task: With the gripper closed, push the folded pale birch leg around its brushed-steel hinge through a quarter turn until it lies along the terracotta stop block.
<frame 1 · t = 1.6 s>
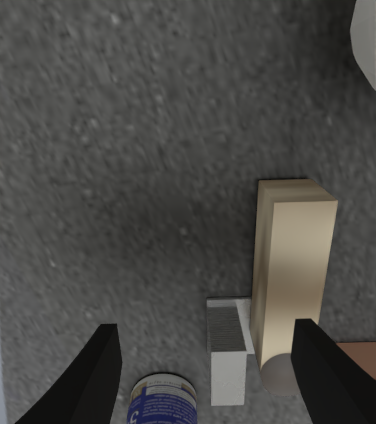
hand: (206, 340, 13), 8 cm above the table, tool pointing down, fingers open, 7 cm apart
hinge bracket: (241, 325, 23), on the table
cup: (366, 30, 16), on the table
birch leg: (285, 291, 19), point 3 cm above the table, hinge at 0.0°
pill bottle: (164, 392, 26), on the table
stop block: (352, 357, 24), on the table
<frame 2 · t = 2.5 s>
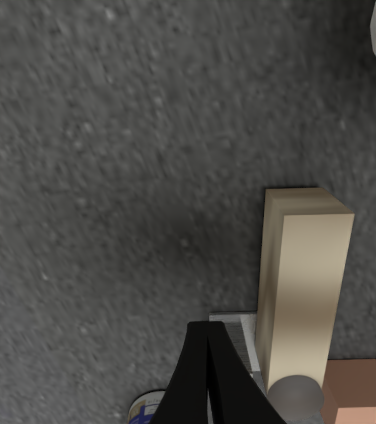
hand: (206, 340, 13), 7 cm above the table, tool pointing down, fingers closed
hinge bracket: (246, 341, 22), on the table
birch leg: (294, 308, 18), point 2 cm above the table, hinge at 0.0°
pill bottle: (163, 410, 25), on the table
stop block: (363, 374, 23), on the table
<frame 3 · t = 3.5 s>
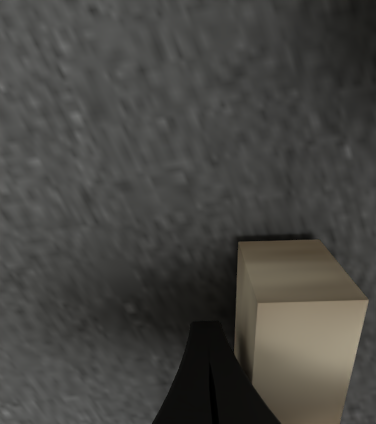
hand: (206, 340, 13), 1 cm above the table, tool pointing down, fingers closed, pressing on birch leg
birch leg: (279, 407, 13), point 3 cm above the table, hinge at 0.0°, touching gripper
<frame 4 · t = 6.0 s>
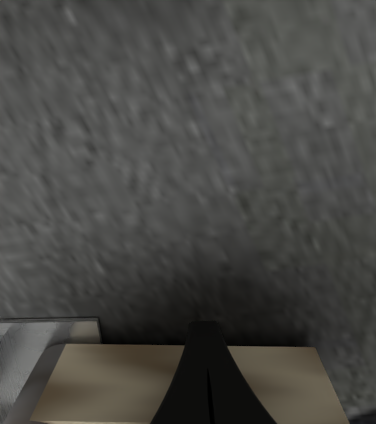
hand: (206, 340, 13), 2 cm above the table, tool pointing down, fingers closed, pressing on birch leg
hinge bracket: (33, 360, 15), on the table
birch leg: (170, 411, 13), point 3 cm above the table, hinge at 92.3°, touching gripper, stop block
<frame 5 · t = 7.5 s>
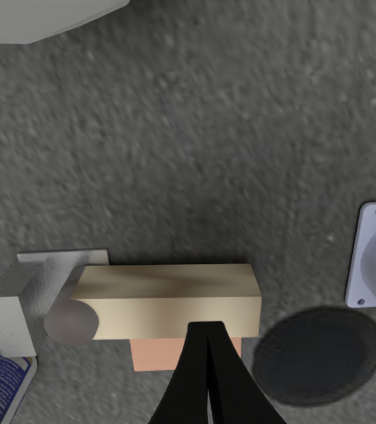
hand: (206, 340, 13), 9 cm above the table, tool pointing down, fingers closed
hinge bracket: (62, 281, 23), on the table
birch leg: (156, 302, 20), point 2 cm above the table, hinge at 92.3°
pill bottle: (6, 356, 26), on the table
stop block: (186, 314, 24), on the table
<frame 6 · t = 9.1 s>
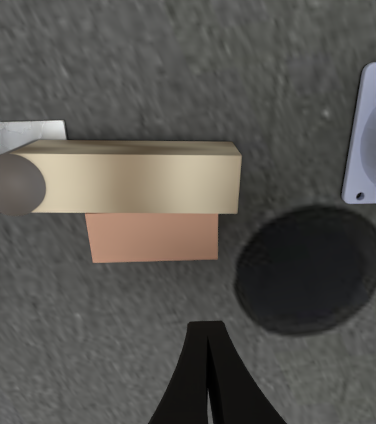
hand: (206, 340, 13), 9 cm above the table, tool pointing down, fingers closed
hinge bracket: (14, 164, 19), on the table
birch leg: (118, 175, 17), point 2 cm above the table, hinge at 92.3°
stop block: (158, 212, 21), on the table
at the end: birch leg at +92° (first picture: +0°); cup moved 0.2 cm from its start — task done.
